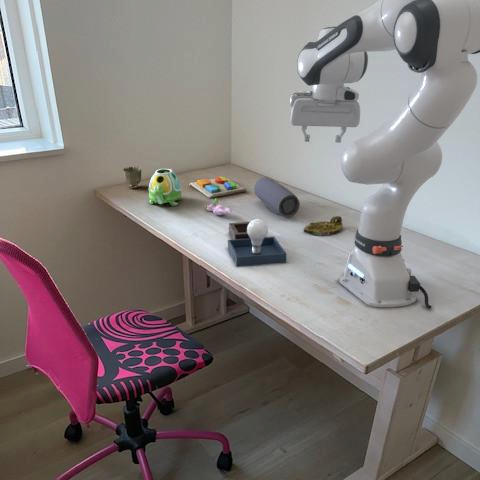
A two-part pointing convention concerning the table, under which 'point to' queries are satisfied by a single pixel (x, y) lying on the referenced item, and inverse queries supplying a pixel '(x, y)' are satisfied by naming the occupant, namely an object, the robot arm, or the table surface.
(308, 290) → the table surface
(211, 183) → the puzzle board
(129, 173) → the cup
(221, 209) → the rabbit figure
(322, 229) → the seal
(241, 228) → the stand
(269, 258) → the tray
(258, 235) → the lightbulb
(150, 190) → the turtle holder
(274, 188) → the bluetooth speaker
